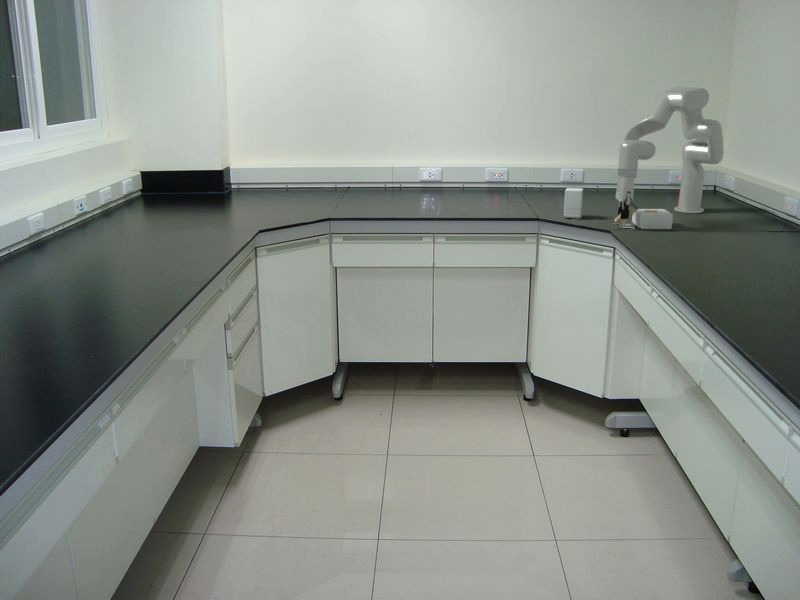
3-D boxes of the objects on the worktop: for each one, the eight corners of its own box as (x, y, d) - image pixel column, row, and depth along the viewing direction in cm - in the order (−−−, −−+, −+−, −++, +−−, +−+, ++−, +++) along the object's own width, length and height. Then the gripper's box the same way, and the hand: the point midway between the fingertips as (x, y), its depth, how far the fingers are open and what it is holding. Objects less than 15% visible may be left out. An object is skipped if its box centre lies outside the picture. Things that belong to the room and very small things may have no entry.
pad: (610, 225, 308) (610, 223, 308) (630, 225, 307) (630, 223, 307) (615, 229, 300) (615, 227, 300) (635, 229, 300) (635, 227, 300)
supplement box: (581, 216, 326) (584, 188, 322) (580, 219, 319) (582, 190, 315) (565, 215, 328) (566, 187, 324) (562, 218, 321) (564, 189, 317)
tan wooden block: (613, 220, 305) (630, 201, 302) (619, 225, 305) (636, 206, 302) (615, 221, 301) (632, 203, 299) (621, 226, 302) (638, 208, 299)
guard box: (631, 222, 312) (633, 208, 310) (662, 222, 312) (664, 209, 310) (639, 228, 301) (640, 214, 299) (671, 229, 300) (673, 214, 298)
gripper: (613, 170, 305) (609, 214, 311) (623, 175, 289) (618, 221, 295) (631, 170, 305) (627, 214, 310) (642, 176, 289) (637, 222, 294)
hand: (623, 217), depth 302 cm, fingers open, 3 cm apart
